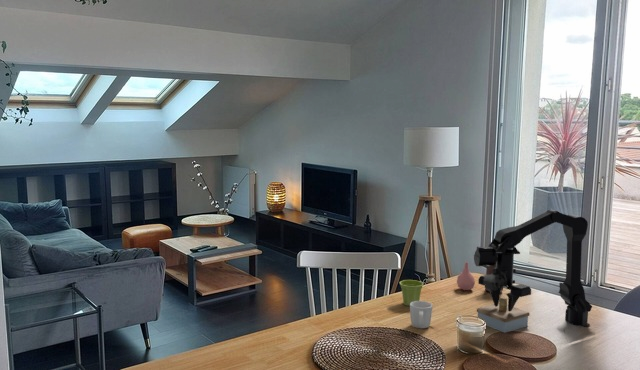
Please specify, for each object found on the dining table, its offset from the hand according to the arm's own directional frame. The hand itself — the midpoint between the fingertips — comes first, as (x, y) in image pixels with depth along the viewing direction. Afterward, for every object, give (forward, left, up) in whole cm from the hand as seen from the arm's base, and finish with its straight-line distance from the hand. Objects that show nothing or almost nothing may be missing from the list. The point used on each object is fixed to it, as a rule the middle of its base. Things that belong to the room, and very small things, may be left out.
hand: (502, 308), depth 188 cm
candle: (+29, -30, -6) cm, 42 cm away
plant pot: (+35, +12, -7) cm, 38 cm away
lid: (0, 0, -2) cm, 2 cm away
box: (0, 0, -6) cm, 6 cm away
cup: (+14, +26, -7) cm, 30 cm away
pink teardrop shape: (+37, -21, -6) cm, 43 cm away
